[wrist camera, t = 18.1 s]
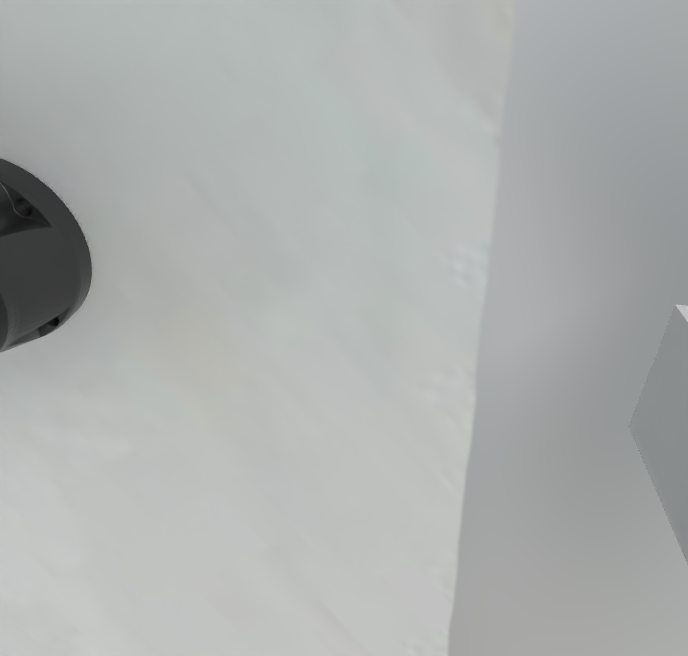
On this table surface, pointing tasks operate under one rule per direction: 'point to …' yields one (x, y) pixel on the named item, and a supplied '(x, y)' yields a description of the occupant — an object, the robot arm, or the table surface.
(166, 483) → the table surface
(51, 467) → the table surface
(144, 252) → the table surface
